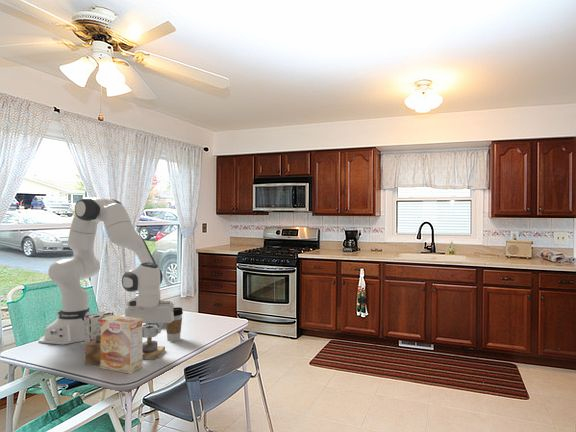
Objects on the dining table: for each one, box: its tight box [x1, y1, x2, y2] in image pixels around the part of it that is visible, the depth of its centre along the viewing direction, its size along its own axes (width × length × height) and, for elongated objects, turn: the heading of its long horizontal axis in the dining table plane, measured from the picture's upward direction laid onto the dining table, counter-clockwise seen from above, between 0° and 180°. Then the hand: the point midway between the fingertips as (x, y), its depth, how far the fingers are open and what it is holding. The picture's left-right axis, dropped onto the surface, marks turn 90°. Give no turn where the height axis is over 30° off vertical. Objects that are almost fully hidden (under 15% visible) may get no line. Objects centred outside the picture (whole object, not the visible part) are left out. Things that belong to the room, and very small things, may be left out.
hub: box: [142, 337, 166, 360], centre depth 164 cm, size 10×10×9 cm
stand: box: [84, 335, 101, 366], centre depth 156 cm, size 7×7×10 cm
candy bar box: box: [83, 310, 114, 348], centre depth 168 cm, size 11×5×16 cm, turn 148°
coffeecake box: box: [99, 314, 143, 375], centre depth 150 cm, size 15×7×20 cm, turn 69°
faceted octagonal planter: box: [142, 324, 159, 339], centre depth 164 cm, size 6×6×4 cm
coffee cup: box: [165, 306, 184, 343], centre depth 184 cm, size 8×8×15 cm
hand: (149, 333), depth 164 cm, fingers closed on faceted octagonal planter, 6 cm apart
